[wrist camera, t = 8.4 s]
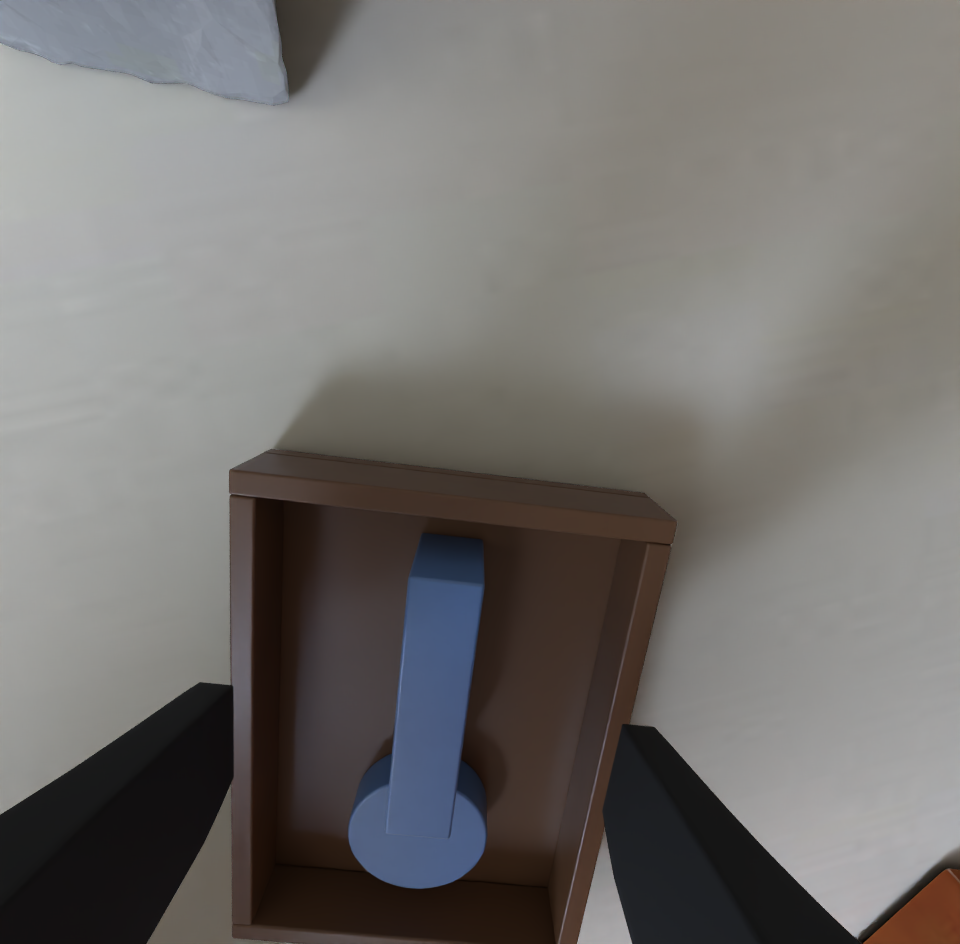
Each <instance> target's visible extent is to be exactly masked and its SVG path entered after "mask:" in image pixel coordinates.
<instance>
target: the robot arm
mask: <svg viewBox="0 0 960 944" xmlns="http://www.w3.org/2000/svg"><path fill="white" fill-rule="evenodd" d="M233 778H234V686H232V685H222V684H212V683H202V682H199V683H198V684H196V685H195V686H193V687H192V688H190V689H189V690H187V691H186V692H184V693H183V694H181V695H180V696H178V697H177V698H175V699H174V700H173V701H171V702H170V703H168V704H167V705H165V706H164V707H162V708H161V709H160V710H158V711H157V712H155V713H154V714H152V715H151V716H150V717H148V718H147V719H145V720H144V721H142V722H141V723H139V724H138V725H137V726H135V727H134V728H132V729H131V730H129V731H128V732H126V733H125V734H123V735H122V736H121V737H119V738H118V739H116V740H115V741H113V742H112V743H110V744H109V745H107V746H106V747H104V748H103V749H101V750H100V751H98V752H97V753H95V754H94V755H92V756H91V757H89V758H88V759H87V760H85V761H84V762H82V763H81V764H79V765H78V766H76V767H75V768H73V769H72V770H70V771H69V772H67V773H66V774H64V775H62V776H61V777H59V778H58V779H56V780H54V781H53V782H51V783H50V784H48V785H47V786H45V787H43V788H42V789H40V790H39V791H37V792H35V793H34V794H32V795H31V796H29V797H28V798H26V799H24V800H23V801H21V802H20V803H18V804H16V805H15V806H13V807H12V808H10V809H9V810H7V811H5V812H4V813H2V814H1V815H0V944H147V942H148V940H149V939H150V937H151V935H152V933H153V932H154V930H155V928H156V926H157V925H158V923H159V921H160V919H161V918H162V916H163V914H164V913H165V911H166V909H167V907H168V906H169V904H170V902H171V900H172V899H173V897H174V895H175V893H176V892H177V890H178V888H179V886H180V885H181V883H182V881H183V879H184V878H185V876H186V874H187V872H188V871H189V869H190V867H191V865H192V864H193V862H194V860H195V858H196V856H197V855H198V853H199V851H200V849H201V847H202V846H203V844H204V842H205V840H206V838H207V836H208V834H209V831H210V829H211V827H212V825H213V823H214V821H215V818H216V816H217V814H218V812H219V810H220V807H221V805H222V803H223V801H224V798H225V796H226V794H227V791H228V789H229V787H230V785H231V782H232V780H233ZM602 813H603V819H604V825H605V831H606V837H607V843H608V848H609V854H610V859H611V864H612V870H613V875H614V879H615V883H616V886H617V890H618V894H619V897H620V901H621V904H622V908H623V912H624V915H625V919H626V922H627V926H628V930H629V933H630V937H631V940H632V944H861V943H860V942H859V941H858V940H856V939H855V938H854V937H853V936H852V935H851V934H850V933H849V932H848V931H847V930H846V929H845V928H844V927H843V926H842V925H841V924H839V923H838V922H837V921H836V920H835V919H834V918H833V917H832V916H831V915H830V914H829V913H828V912H827V911H826V910H825V909H824V908H823V907H822V906H821V905H820V904H819V903H818V902H817V901H816V900H815V899H814V898H813V897H812V896H811V895H810V894H809V893H808V892H807V891H806V890H805V889H804V888H803V887H802V886H801V885H800V884H799V883H798V882H797V881H796V880H795V879H794V878H793V877H792V876H791V875H790V874H789V873H788V872H787V871H786V870H785V869H784V868H783V867H782V866H781V865H780V864H779V863H778V862H777V861H776V860H775V859H774V858H773V857H772V856H771V855H770V854H769V853H768V852H767V851H766V849H765V848H764V847H763V846H762V845H761V844H760V843H759V842H758V841H757V840H756V839H755V838H754V837H753V836H752V835H751V834H750V833H749V831H748V830H747V829H746V828H745V827H744V826H743V825H742V824H741V823H740V822H739V821H738V820H737V819H736V817H735V816H734V815H733V814H732V813H731V812H730V811H729V810H728V809H727V808H726V806H725V805H724V804H723V803H722V802H721V801H720V800H719V799H718V798H717V797H716V795H715V794H714V793H713V792H712V791H711V790H710V789H709V788H708V786H707V785H706V784H705V783H704V782H703V781H702V780H701V779H700V777H699V776H698V775H697V774H696V773H695V772H694V771H693V770H692V768H691V767H690V766H689V765H688V764H687V763H686V762H685V761H684V759H683V758H682V757H681V756H680V755H679V754H678V753H677V751H676V750H675V749H674V748H673V747H672V746H671V745H670V744H669V742H668V741H667V740H666V739H665V738H664V737H663V736H662V735H661V734H660V733H659V732H658V730H657V729H656V728H655V727H649V726H638V725H628V724H622V728H621V732H620V736H619V740H618V745H617V749H616V753H615V758H614V762H613V766H612V770H611V775H610V779H609V783H608V788H607V792H606V796H605V801H604V805H603V809H602Z"/></svg>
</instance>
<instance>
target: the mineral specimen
mask: <svg viewBox="0 0 960 944" xmlns="http://www.w3.org/2000/svg"><path fill="white" fill-rule="evenodd" d="M0 43H1V44H4V45H7V46H9V47H12V48H15V49H17V50H21V51H25V52H30V53H34V54H37V55H40V56H42V57H44V58H46V59H48V60H49V61H51V62H54V63H57V64H60V65H61V64H69V63H73V64H76V65H79V66H82V67H88V68H94V69H103V70H109V71H115V72H122V73H128V74H131V75H133V76H136V77H138V78H141V79H143V80H145V81H148V82H150V83H188V84H190V85H193V86H195V87H197V88H199V89H202V90H204V91H206V92H209V93H212V94H214V95H218V96H221V97H225V98H232V99H242V100H247V101H252V102H258V103H264V104H269V105H278V104H282V103H286V102H288V99H289V83H288V77H287V71H286V68H285V65H284V62H283V59H282V44H281V37H280V31H279V27H278V23H277V15H276V0H0Z"/></svg>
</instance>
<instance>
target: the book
mask: <svg viewBox="0 0 960 944" xmlns="http://www.w3.org/2000/svg"><path fill="white" fill-rule="evenodd" d="M863 944H960V870H958V869H946V870H944V871H943V872H941V873H940V874H939V875H938V876H937V877H936V878H935V879H933V880H932V881H931V882H930V883H929V884H928V885H927V886H926V887H925V888H924V889H922V890H921V891H920V892H919V893H918V894H917V895H916V896H915V897H914V898H913V899H911V900H910V901H909V902H908V903H907V904H906V905H905V906H904V907H903V908H901V909H900V910H899V911H898V912H897V913H896V914H895V915H894V916H893V917H892V918H890V919H889V920H888V921H887V922H886V923H885V924H884V925H883V926H882V927H881V928H879V929H878V930H877V931H876V932H875V933H874V934H873V935H872V936H871V937H869V938H868V939H867V940H866V941H865V942H864V943H863Z"/></svg>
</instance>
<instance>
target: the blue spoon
mask: <svg viewBox="0 0 960 944" xmlns="http://www.w3.org/2000/svg"><path fill="white" fill-rule="evenodd" d="M484 588H485V582H484V551H483V540H481V539H473V538H464V537H455V536H446V535H437V534H428V533H422V534H421V537H420V540H419V544H418V547H417V550H416V554H415V557H414V561H413V564H412V567H411V571H410V574H409V577H408V586H407V597H406V607H405V618H404V629H403V639H402V650H401V661H400V672H399V682H398V693H397V704H396V714H395V725H394V736H393V746H392V754H389V755H387V756H385V757H384V758H382V759H380V760H379V761H377V762H376V763H375V764H374V765H373V766H372V767H371V768H370V769H369V770H368V771H367V772H366V773H365V775H364V776H363V778H362V780H361V782H360V784H359V787H358V790H357V794H356V797H355V801H354V805H353V809H352V812H351V816H350V820H349V825H348V838H349V844H350V847H351V850H352V852H353V854H354V856H355V858H356V859H357V860H358V862H359V863H360V864H361V865H362V866H363V867H364V868H365V869H366V870H367V871H368V872H369V873H371V874H372V875H374V876H375V877H377V878H378V879H380V880H383V881H385V882H387V883H390V884H393V885H396V886H400V887H405V888H416V889H423V888H433V887H438V886H442V885H446V884H448V883H451V882H453V881H455V880H457V879H459V878H461V877H462V876H464V875H465V874H467V873H468V872H469V871H470V870H471V869H472V868H473V867H474V866H475V865H476V864H477V863H478V861H479V859H480V858H481V856H482V854H483V852H484V849H485V846H486V842H487V800H486V793H485V789H484V786H483V784H482V782H481V780H480V778H479V777H478V775H477V774H476V772H475V771H474V770H473V769H472V768H471V767H470V766H469V765H468V764H467V763H465V762H464V761H462V760H461V755H462V748H463V741H464V734H465V726H466V719H467V712H468V705H469V697H470V690H471V683H472V675H473V668H474V661H475V654H476V646H477V639H478V632H479V624H480V617H481V610H482V603H483V595H484Z"/></svg>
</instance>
